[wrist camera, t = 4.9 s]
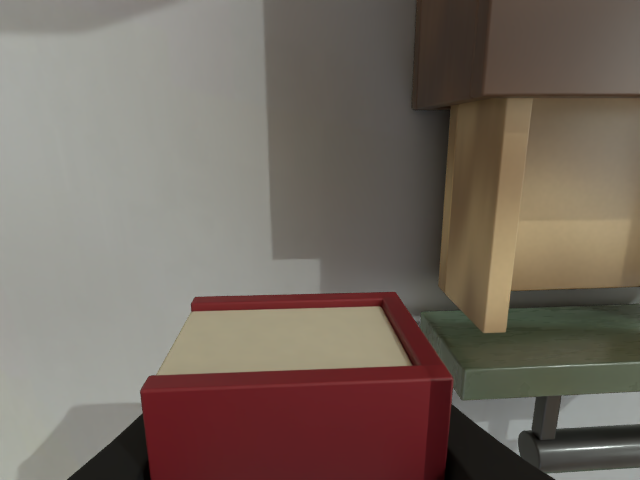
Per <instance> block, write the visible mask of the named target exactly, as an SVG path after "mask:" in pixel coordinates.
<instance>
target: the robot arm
mask: <svg viewBox="0 0 640 480" xmlns="http://www.w3.org/2000/svg"><path fill="white" fill-rule="evenodd" d="M67 480H151V478H150V470H149V461H148V453H147V445H146V436H145V428H144V420H143V413H142V414H141V415H140V416H139V417H138V418H137V419H136V420H135V421H134V422H133V423H132V424H131V425H130V426H128V427H127V428H126V429H125V430H124V431H123V432H122V433H121V434H120V435H119V436H118V437H117V438H115V439H114V440H113V441H112V442H111V443H110V444H109V445H107V446H106V447H105V448H104V449H103V450H102V451H100V452H99V453H98V454H97V455H96V456H94V457H93V458H92V459H91V460H90V461H89V462H87V463H86V464H85V465H84V466H83V467H81V468H80V469H79V470H78V471H77V472H75V473H74V474H73V475H72V476H71V477H70V478H68V479H67ZM444 480H555V479H553V478H552V477H550V476H549V475H547V474H545V473H544V472H542V471H541V470H539V469H538V468H536V467H535V466H533V465H532V464H530V463H529V462H527V461H526V460H524V459H523V458H521V457H520V456H519V455H517V454H516V453H514V452H513V451H512V450H510V449H509V448H507V447H506V446H505V445H503V444H502V443H500V442H499V441H498V440H496V439H495V438H494V437H492V436H491V435H490V434H488V433H487V432H486V431H484V430H483V429H482V428H481V427H479V426H478V425H477V424H476V423H474V422H473V421H472V420H471V419H469V418H468V417H467V416H466V415H464V414H463V413H462V412H461V411H459V410H458V409H457V408H456V407H455V406H453V405H452V404H451V414H450V424H449V435H448V446H447V457H446V468H445V479H444Z"/></svg>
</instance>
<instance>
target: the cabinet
mask: <svg viewBox="0 0 640 480" xmlns="http://www.w3.org/2000/svg"><path fill="white" fill-rule="evenodd" d="M491 98H640V0H417V4H416V26H415V47H414V69H413V90H412V109H413V110H451V106H452V105H458V104H463V103H469V102H475V101H480V100H486V99H491Z"/></svg>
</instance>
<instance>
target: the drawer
mask: <svg viewBox="0 0 640 480" xmlns="http://www.w3.org/2000/svg"><path fill="white" fill-rule="evenodd" d="M438 286H439V288H440V289H441V290H442V291H443V292H444V293H445V294H446V295H447V296H448V298H449V299H450V300H451V301H452V302H453V303H454V304H455V305H456V306H457V307H458V308H459V309H460V310H457V311H430V312H421V321H420V329H421V331H422V332H423V334H424V335H425V336H426V338H427V339H428V341H429V342H430V344H431V345H432V347H433V348H434V350H435V351H436V353H437V354H438V356H439V357H440V359H441V360H442V362H443V363H444V365H445V366H446V368H447V369H448V371H449V372H450V374H451V375H452V377H453V379H454V381H453V388H454V390H455V391H456V393H457V394H458V396H459V397H460V399H461V400H482V399H502V398H521V397H536V402H535V409H534V416H533V423H532V430H528V431H522V432H521V433H520V434H519V438H518V447H519V452H520V456H521V458H523V459H524V460H526V461H527V462H529V463H530V464H532V465H533V466H535V467H536V468H538V469H539V470H541V471H542V472H544V473H545V474H547V473H562V472H578V471H593V470H609V469H624V468H640V424H634V425H616V426H598V427H581V428H563V429H556V427H557V421H558V414H559V408H560V402H561V395H580V394H599V393H619V392H639V391H640V304H624V305H596V306H568V307H540V308H513V309H509V301H510V292H511V291H528V290H558V289H588V288H618V287H640V98H491V99H486V100H480V101H475V102H469V103H463V104H458V105H452V106H451V110H450V124H449V139H448V153H447V168H446V182H445V197H444V211H443V226H442V240H441V255H440V269H439V284H438Z"/></svg>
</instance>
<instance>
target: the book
mask: <svg viewBox="0 0 640 480" xmlns="http://www.w3.org/2000/svg"><path fill="white" fill-rule="evenodd" d="M453 381H454V379H453V377H452V375H451V374H450V372H449V371H448V369H447V368H446V366H445V365H444V363H443V362H442V360H441V359H440V357H439V356H438V354H437V353H436V351H435V350H434V348H433V347H432V345H431V344H430V342H429V341H428V339H427V338H426V336H425V335H424V334H423V332H422V331H421V329H420V328H419V326H418V325H417V323H416V322H415V320H414V319H413V317H412V316H411V314H410V313H409V311H408V310H407V308H406V307H405V305H404V304H403V302H402V301H401V299H400V298H399V296H398V295H397V293H396V292H373V293H333V294H293V295H253V296H212V297H195V298H194V299H193V301H192V303H191V313H190V315H189V317H188V319H187V320H186V322H185V324H184V326H183V328H182V329H181V331H180V333H179V335H178V337H177V338H176V340H175V342H174V344H173V346H172V347H171V349H170V351H169V353H168V355H167V356H166V358H165V360H164V362H163V364H162V365H161V367H160V369H159V371H158V373H157V374H156V375H151V376H149V377H148V378H147V380H146V382H145V383H144V385H143V387H142V388H141V391H140V394H141V403H142V411H143V420H144V428H145V436H146V445H147V453H148V461H149V470H150V478H151V480H444V479H445V468H446V457H447V446H448V435H449V424H450V414H451V403H452V392H453Z"/></svg>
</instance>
